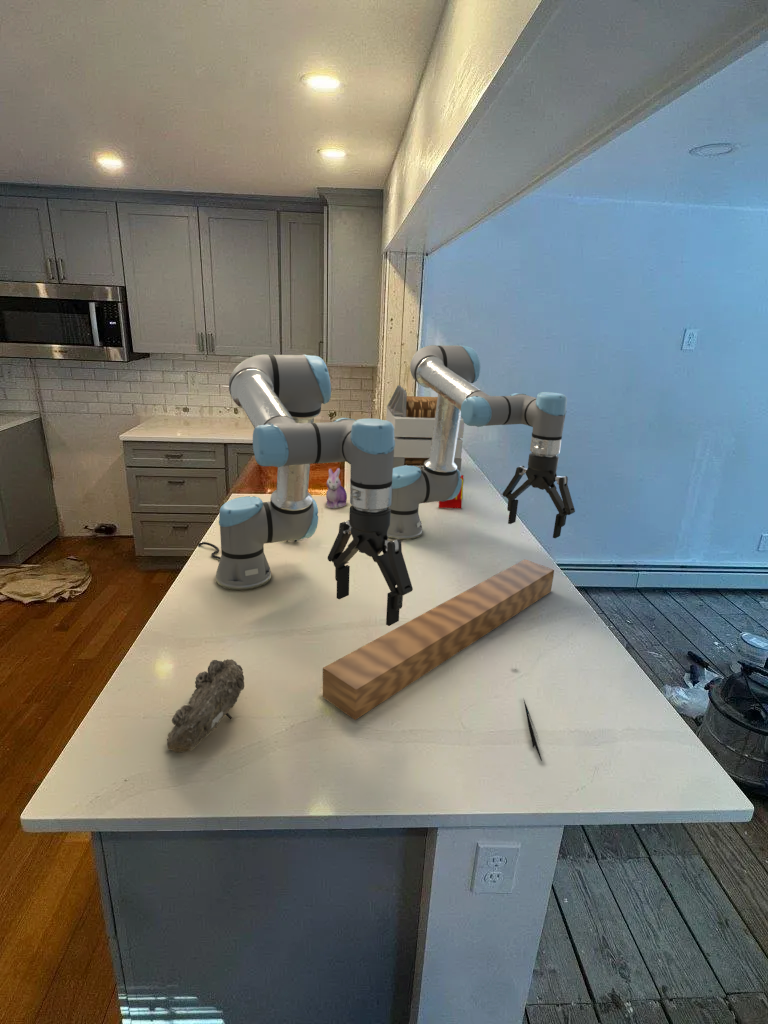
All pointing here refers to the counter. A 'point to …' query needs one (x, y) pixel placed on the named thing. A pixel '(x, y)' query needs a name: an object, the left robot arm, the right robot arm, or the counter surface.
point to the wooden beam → (431, 638)
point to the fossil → (206, 705)
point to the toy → (453, 500)
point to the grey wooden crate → (415, 428)
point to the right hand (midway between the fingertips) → (533, 529)
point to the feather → (532, 731)
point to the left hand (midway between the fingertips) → (366, 609)
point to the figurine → (335, 491)
